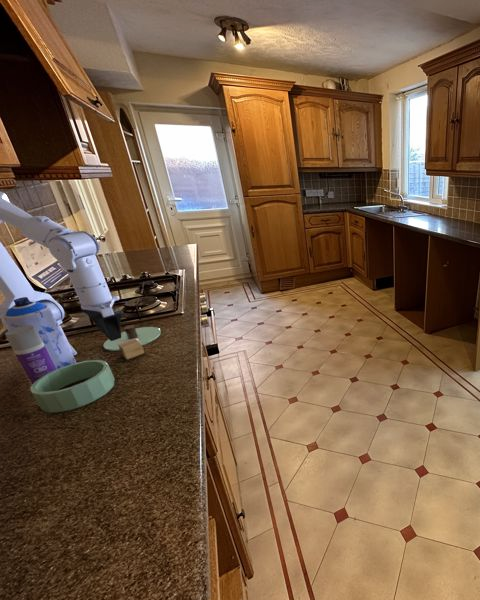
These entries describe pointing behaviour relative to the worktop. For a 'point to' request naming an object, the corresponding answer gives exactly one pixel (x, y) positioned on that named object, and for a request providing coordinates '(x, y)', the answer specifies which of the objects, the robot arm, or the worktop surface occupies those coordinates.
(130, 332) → the lid
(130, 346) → the block
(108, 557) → the worktop surface
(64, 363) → the aerosol can
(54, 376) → the pot
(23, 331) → the container
